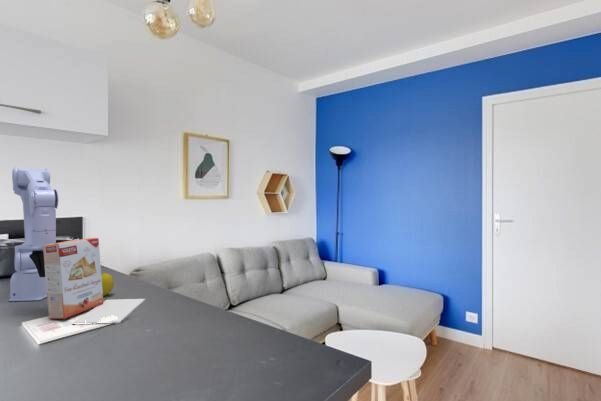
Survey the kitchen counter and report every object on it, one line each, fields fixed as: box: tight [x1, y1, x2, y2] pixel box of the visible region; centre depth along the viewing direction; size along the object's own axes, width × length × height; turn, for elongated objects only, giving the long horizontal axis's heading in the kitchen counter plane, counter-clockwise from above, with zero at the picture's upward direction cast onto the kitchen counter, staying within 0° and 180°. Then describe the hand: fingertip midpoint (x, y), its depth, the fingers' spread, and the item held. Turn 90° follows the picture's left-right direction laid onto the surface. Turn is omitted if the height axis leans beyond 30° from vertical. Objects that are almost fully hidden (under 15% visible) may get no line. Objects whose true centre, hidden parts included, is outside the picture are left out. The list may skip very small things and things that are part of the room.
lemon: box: [101, 272, 115, 297], centre depth 115 cm, size 6×6×8 cm
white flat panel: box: [72, 298, 146, 324], centre depth 100 cm, size 12×20×1 cm, turn 7°
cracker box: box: [43, 237, 104, 320], centre depth 99 cm, size 14×6×21 cm, turn 168°
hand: (44, 276), depth 99 cm, fingers closed
